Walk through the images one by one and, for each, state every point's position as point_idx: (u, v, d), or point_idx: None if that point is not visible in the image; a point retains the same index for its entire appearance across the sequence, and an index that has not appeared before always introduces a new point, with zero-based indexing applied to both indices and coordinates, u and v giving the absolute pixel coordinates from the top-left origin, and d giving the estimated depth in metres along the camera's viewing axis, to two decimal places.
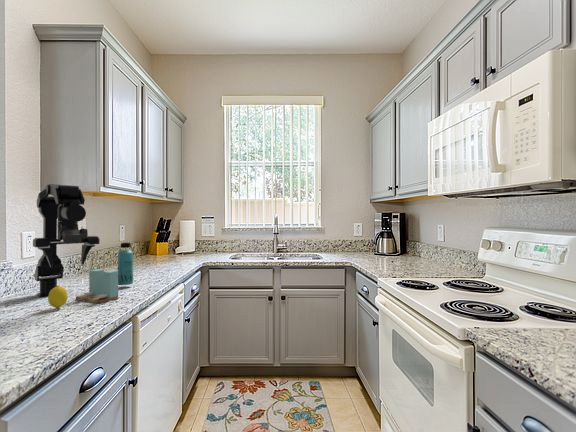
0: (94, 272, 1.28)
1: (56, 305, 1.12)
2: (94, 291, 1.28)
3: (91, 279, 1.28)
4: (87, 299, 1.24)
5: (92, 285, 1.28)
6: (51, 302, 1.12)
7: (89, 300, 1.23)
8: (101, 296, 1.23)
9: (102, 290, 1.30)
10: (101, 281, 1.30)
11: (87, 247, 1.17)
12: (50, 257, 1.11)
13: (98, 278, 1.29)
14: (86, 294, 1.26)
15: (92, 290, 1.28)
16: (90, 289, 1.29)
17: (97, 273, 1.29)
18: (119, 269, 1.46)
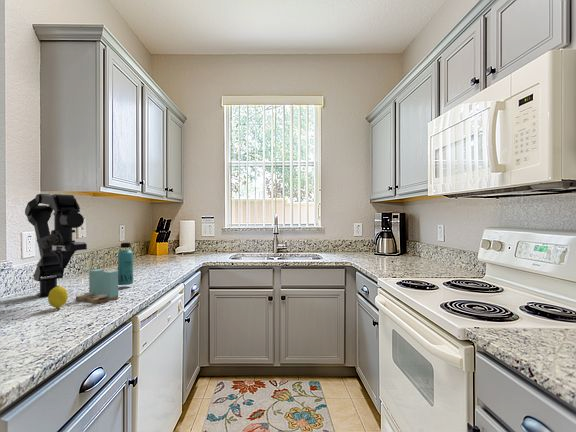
0: (94, 272, 1.28)
1: (56, 305, 1.12)
2: (94, 291, 1.28)
3: (91, 279, 1.28)
4: (87, 299, 1.24)
5: (92, 285, 1.28)
6: (51, 302, 1.12)
7: (89, 300, 1.23)
8: (101, 296, 1.23)
9: (102, 290, 1.30)
10: (101, 281, 1.30)
11: (58, 252, 1.24)
12: (59, 259, 1.25)
13: (98, 278, 1.29)
14: (86, 294, 1.26)
15: (92, 290, 1.28)
16: (90, 289, 1.29)
17: (97, 273, 1.29)
18: (119, 269, 1.46)
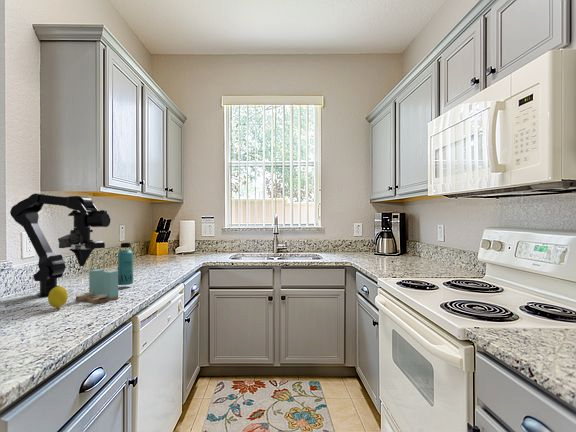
0: (94, 272, 1.28)
1: (56, 305, 1.12)
2: (94, 291, 1.28)
3: (91, 279, 1.28)
4: (87, 299, 1.24)
5: (92, 285, 1.28)
6: (51, 302, 1.12)
7: (89, 300, 1.23)
8: (101, 296, 1.23)
9: (102, 290, 1.30)
10: (101, 281, 1.30)
11: (78, 251, 1.30)
12: (77, 257, 1.32)
13: (98, 278, 1.29)
14: (86, 294, 1.26)
15: (92, 290, 1.28)
16: (90, 289, 1.29)
17: (97, 273, 1.29)
18: (119, 269, 1.46)
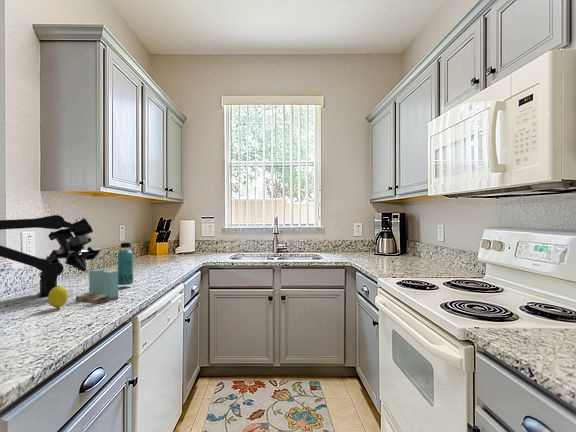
0: (94, 272, 1.28)
1: (56, 305, 1.12)
2: (94, 291, 1.28)
3: (91, 279, 1.28)
4: (87, 299, 1.24)
5: (92, 285, 1.28)
6: (51, 302, 1.12)
7: (89, 300, 1.23)
8: (101, 296, 1.23)
9: (102, 290, 1.30)
10: (101, 281, 1.30)
11: (83, 254, 1.34)
12: (80, 262, 1.32)
13: (98, 278, 1.29)
14: (86, 294, 1.26)
15: (92, 290, 1.28)
16: (90, 289, 1.29)
17: (97, 273, 1.29)
18: (119, 269, 1.46)
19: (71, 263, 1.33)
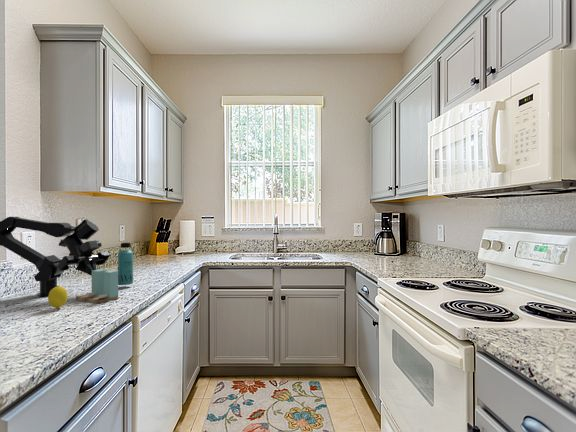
0: (96, 272, 1.27)
1: (56, 305, 1.12)
2: (96, 291, 1.27)
3: (93, 279, 1.28)
4: (87, 299, 1.24)
5: (94, 285, 1.28)
6: (51, 302, 1.12)
7: (89, 300, 1.23)
8: (101, 296, 1.23)
9: None
10: (103, 281, 1.29)
11: (93, 259, 1.32)
12: (91, 267, 1.30)
13: (101, 278, 1.28)
14: (88, 294, 1.25)
15: (94, 290, 1.28)
16: (92, 289, 1.28)
17: (100, 273, 1.28)
18: (119, 269, 1.46)
19: (82, 269, 1.31)
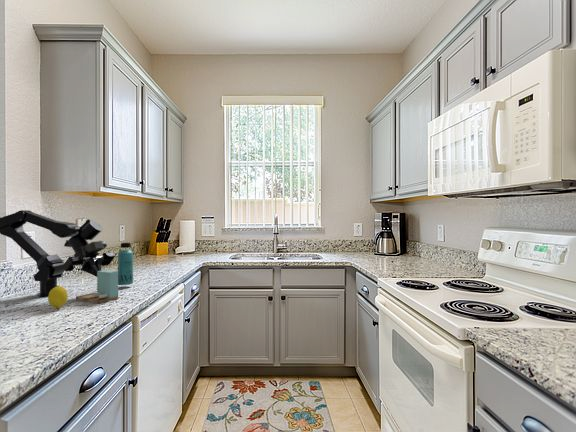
0: (102, 273, 1.26)
1: (56, 305, 1.12)
2: (102, 292, 1.26)
3: (99, 280, 1.27)
4: (87, 299, 1.24)
5: (100, 286, 1.27)
6: (51, 302, 1.12)
7: (89, 300, 1.23)
8: (101, 296, 1.23)
9: None
10: None
11: (98, 260, 1.31)
12: (96, 268, 1.29)
13: None
14: (94, 295, 1.24)
15: (100, 291, 1.27)
16: (98, 290, 1.27)
17: None
18: (119, 269, 1.46)
19: (87, 270, 1.29)
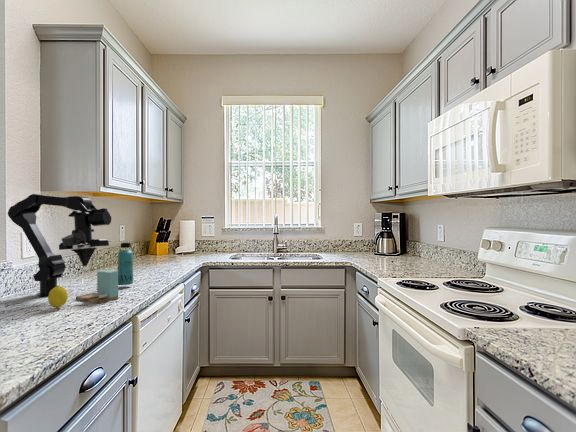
0: (102, 273, 1.26)
1: (56, 305, 1.12)
2: (102, 292, 1.26)
3: (99, 280, 1.27)
4: (87, 299, 1.24)
5: (100, 286, 1.27)
6: (51, 302, 1.12)
7: (89, 300, 1.23)
8: (101, 296, 1.23)
9: None
10: None
11: (81, 250, 1.30)
12: (80, 257, 1.32)
13: None
14: (94, 295, 1.24)
15: (100, 291, 1.27)
16: (98, 290, 1.27)
17: None
18: (119, 269, 1.46)
19: None
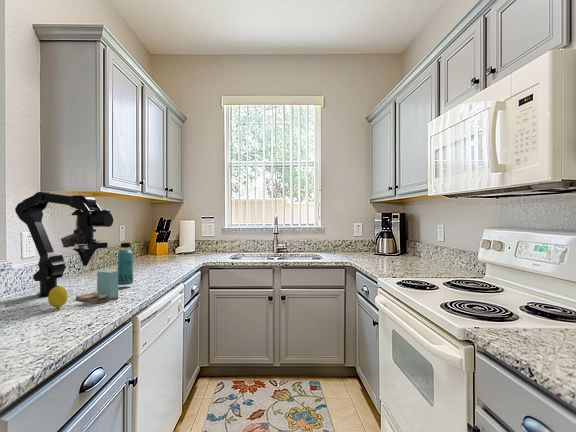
0: (102, 273, 1.26)
1: (56, 305, 1.12)
2: (102, 292, 1.26)
3: (99, 280, 1.27)
4: (87, 299, 1.24)
5: (100, 286, 1.27)
6: (51, 302, 1.12)
7: (89, 300, 1.23)
8: (101, 296, 1.23)
9: None
10: None
11: (81, 250, 1.30)
12: (81, 257, 1.32)
13: None
14: (94, 295, 1.24)
15: (100, 291, 1.27)
16: (98, 290, 1.27)
17: None
18: (119, 269, 1.46)
19: None
